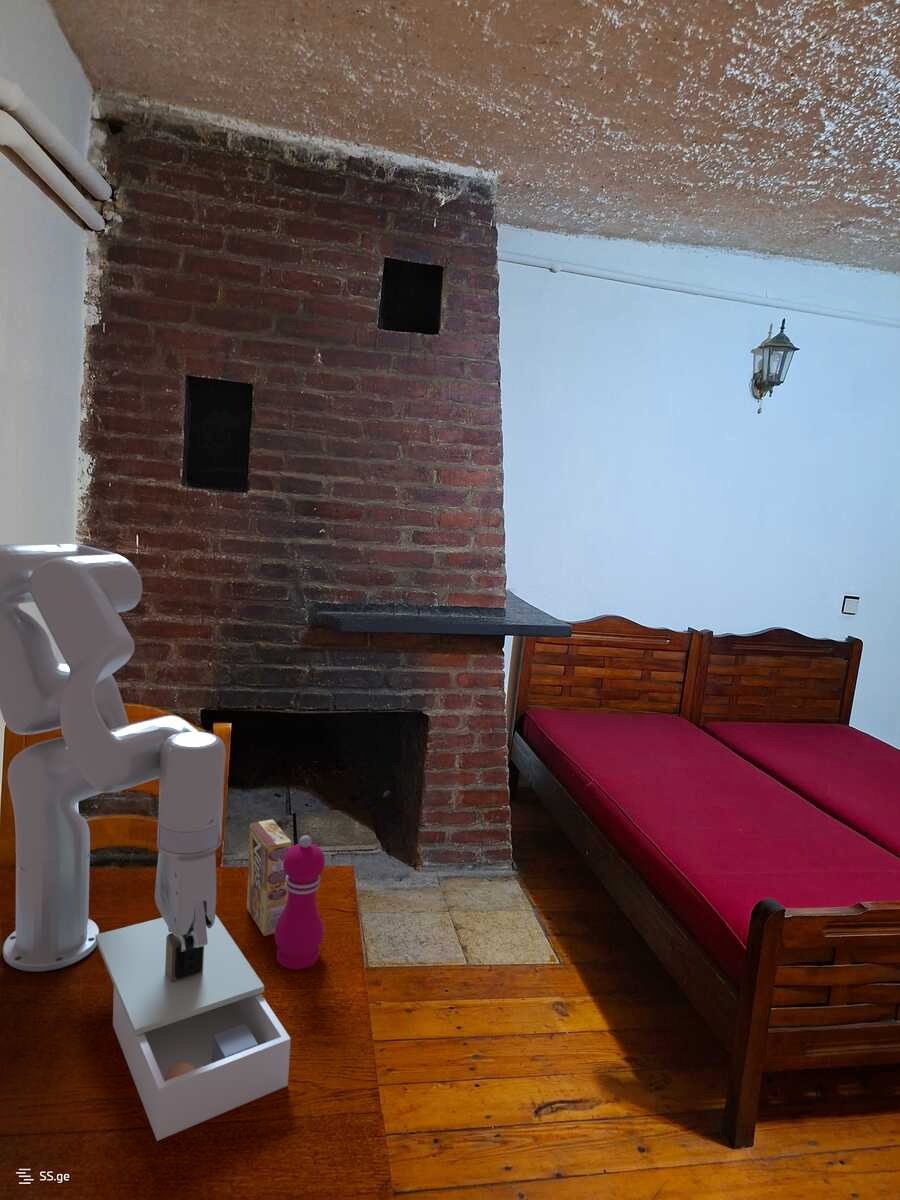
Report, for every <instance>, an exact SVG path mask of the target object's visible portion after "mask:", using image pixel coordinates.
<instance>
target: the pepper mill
mask: <svg viewBox="0 0 900 1200" xmlns="http://www.w3.org/2000/svg"><path fill="white" fill-rule="evenodd" d="M312 841H313V840H312V838H311V837H310V835H303V836H301V837H300V838H299V843H296V844H294V845H292V847H291V848H290V849H289V850H288V851H287V852H286V854H285V857H284V861H283V868H284V871H285V873H286V874H287V876H286V883H285V886H286V888H287V890H288V900H287V904H286V906H285V908H284V910H283V912H282V914H281V916H280V918H279V920H278V923H277V925H276V929H275V933H274V934H273V935H274V937H273V938H274V942H275V944H276V945H277V949H276V957H275V958H276V960H277V962H278V964H280V965H281V966H283V967H284V968H287V969H292V970H300V969H306V968H309V967H312V966H313V965H314V964H316V962H318V960H319V956H320V947H319V946H320V945H321V944H322V942H323V939H324V924H323V920H322V918H321V915H320V913H319V911H318V909H317V904H316V895H317V894H316V893H317V890H318V889H319V888H320V885H321V882H320V881H321V876H320V875H321V874H322V873H323V870H324V869H325V863H326V862H325V855H324V853H323V851H322V849H321V848H320V847H319V846H317V845H316V844H315V843H312Z"/></svg>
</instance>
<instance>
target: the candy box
mask: <svg viewBox="0 0 900 1200" xmlns="http://www.w3.org/2000/svg"><path fill="white" fill-rule="evenodd" d="M248 841H249V843H248V845H249V848H248V866H247V867H248V870H247V871H248V872H247V897H246V909H247V911H248V912H249V915H250V916H251V917H252V919H253V921H254V922H255V924H256V925H257V927H258V929H259V930H260V932H261V933H262V935H263V936H264V937H266V936H270V935H275V929H276V925H277V923H278V920H279V918H280V916H281V914H282V912H283V910H284V908H285V906H286V904H287V900H288V890H287V888H286V886H285V883H286V876H287V874H286V873H285V871H284V868H283V861H284V857H285V854H286V852H287V851H288V850H289V849H290V848H291V847H292V846H293V842H292V840H291V839H290V838H289V836H287V835H286V833H285V832H284V830H282V829H281V828H280V826H279V825H278V823H277V822H275V820H274V819H267V820H262V821H257V822H256V821H255V822H250V824H249V840H248Z"/></svg>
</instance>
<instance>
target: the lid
mask: <svg viewBox="0 0 900 1200" xmlns="http://www.w3.org/2000/svg"><path fill="white" fill-rule="evenodd" d="M206 930H207V940H208V944H207V945H205V946H203V952H202V970H201V972H200V973H197V974H194V975H191V976H187V977H184V978H181V979H177V978H176V977H175V958H176V948H179V937H177V936H175V935H174V934H172V935H168V934H171V933H172V932H171V933H169V930H168V926H167V924H166V922H165V921H164V919H163V917H160V918H155V919H152V920H148V921H144V922H141V923H135V924H132V925H128V926H125V927H121V928H116V929H113V930H109V931H105V932H99V934H96V935H95V940H96V943H97V945H96V946H97V947H98V949H99V952H100V955H101V957H102V959H103V962H104V964H105V967H106V969H107V972H108V975H109V977H110V979H111V981H112V985H113V988H114V987H115V989H116V992H117V994H118V996H119V999H120V1001H121V1004H122V1006H123V1009H124V1011H125V1013H126V1016H127V1018H128V1021H129V1023H130V1026H131V1028H132V1031H133V1033H134V1035H138V1034H141V1033H144V1032H147V1031H150V1030H153V1029H156V1028H159V1027H162V1026H165V1025H168V1024H171V1023H174V1022H177V1021H180V1020H183V1019H185V1018H188V1017H191V1016H194V1015H197V1014H200V1013H203V1012H206V1011H209V1010H212V1009H215V1008H218V1007H221V1006H224V1005H227V1004H230V1003H233V1002H236V1001H239V1000H242V999H244V998H247V997H250V996H253V995H256V994H259V993H261V994H262V993H264V992H265V985H264V982H262V980H261V979H260V977H259V976H258V975H257V973H256V971H255V970H254V969H253V967H252V966H251V964H250V963H249V961H248V959H246V957H245V956H244V954H243V952H242V951H241V949H240V948H239V946H238V945H237V944H236V942H235V940H234V939H233V938H232V936H231V935H230V934H229V932H228V931H227V929H226V927H225V926H224V925H223V923H222V922H221V919H220V918H219V917H218V916H217V914H216V913H215V921H214V924H213V926H212V927H211V928H208V927H207V926H206ZM192 935H194V931H192V932H188V933H187V934H186V938H187V937H188V936H192Z"/></svg>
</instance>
